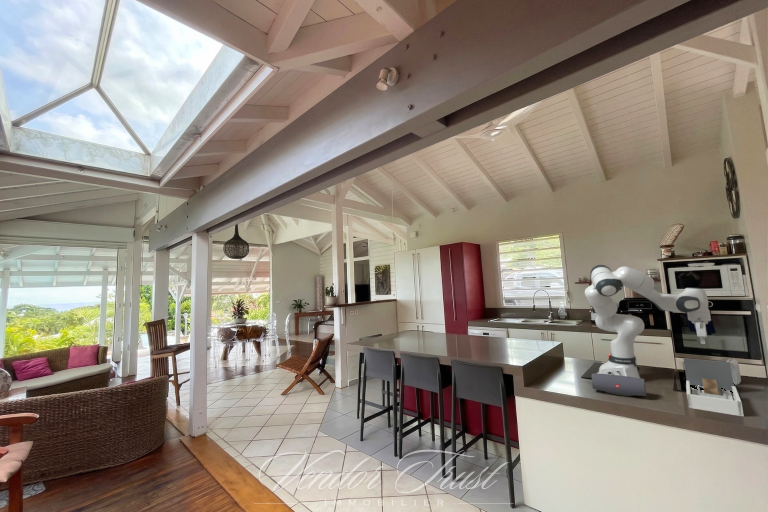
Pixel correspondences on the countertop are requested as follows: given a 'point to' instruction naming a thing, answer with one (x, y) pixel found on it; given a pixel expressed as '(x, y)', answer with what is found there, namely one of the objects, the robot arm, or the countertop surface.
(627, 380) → the bluetooth speaker
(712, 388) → the brown wooden block
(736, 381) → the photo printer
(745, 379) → the countertop surface
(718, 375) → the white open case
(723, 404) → the white open box
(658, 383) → the countertop surface
